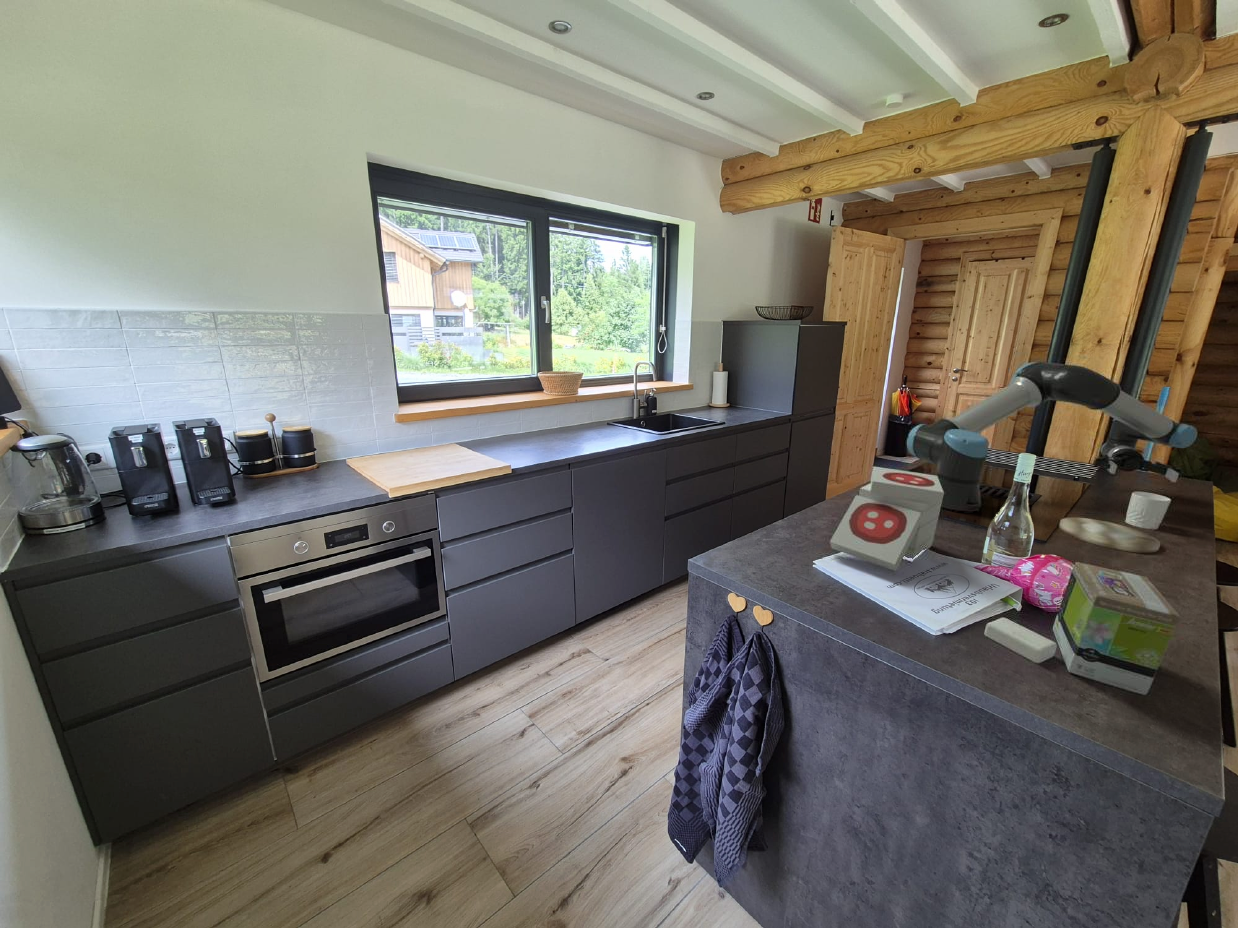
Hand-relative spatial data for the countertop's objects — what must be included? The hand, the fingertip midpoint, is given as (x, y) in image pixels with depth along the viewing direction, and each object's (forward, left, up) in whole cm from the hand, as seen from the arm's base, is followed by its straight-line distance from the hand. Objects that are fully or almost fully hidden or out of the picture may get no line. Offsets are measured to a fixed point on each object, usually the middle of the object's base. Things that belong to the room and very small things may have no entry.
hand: (1144, 473), depth 153 cm
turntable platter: (-11, -32, -13) cm, 36 cm away
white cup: (0, -13, -14) cm, 19 cm away
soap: (-36, -107, -14) cm, 114 cm away
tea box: (-25, -104, -14) cm, 108 cm away
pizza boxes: (-61, -78, -14) cm, 100 cm away
